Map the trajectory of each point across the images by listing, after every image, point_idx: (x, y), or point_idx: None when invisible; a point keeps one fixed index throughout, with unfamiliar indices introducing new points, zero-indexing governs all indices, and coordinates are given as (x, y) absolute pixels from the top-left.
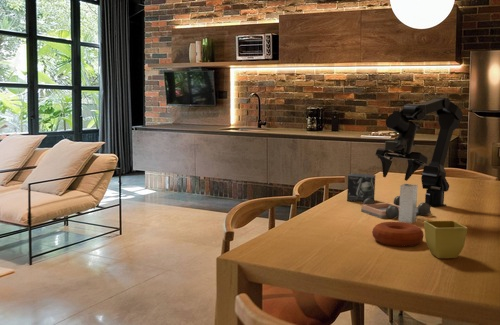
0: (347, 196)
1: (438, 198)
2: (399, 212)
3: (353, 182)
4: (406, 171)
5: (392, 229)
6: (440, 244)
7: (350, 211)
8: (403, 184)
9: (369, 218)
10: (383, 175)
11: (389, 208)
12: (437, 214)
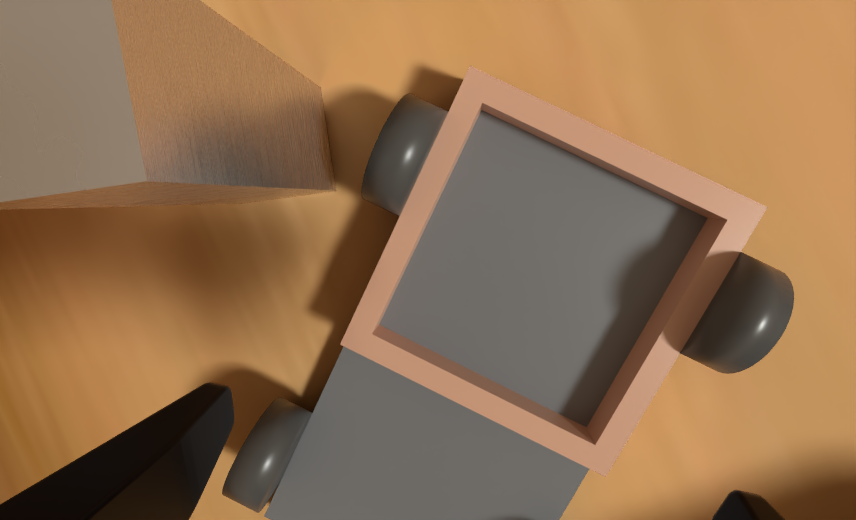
0: None
1: None
2: (290, 69)
3: None
4: (76, 513)
5: None
6: None
7: (813, 141)
8: (116, 79)
9: (546, 11)
10: (765, 511)
11: (408, 104)
12: (230, 511)
